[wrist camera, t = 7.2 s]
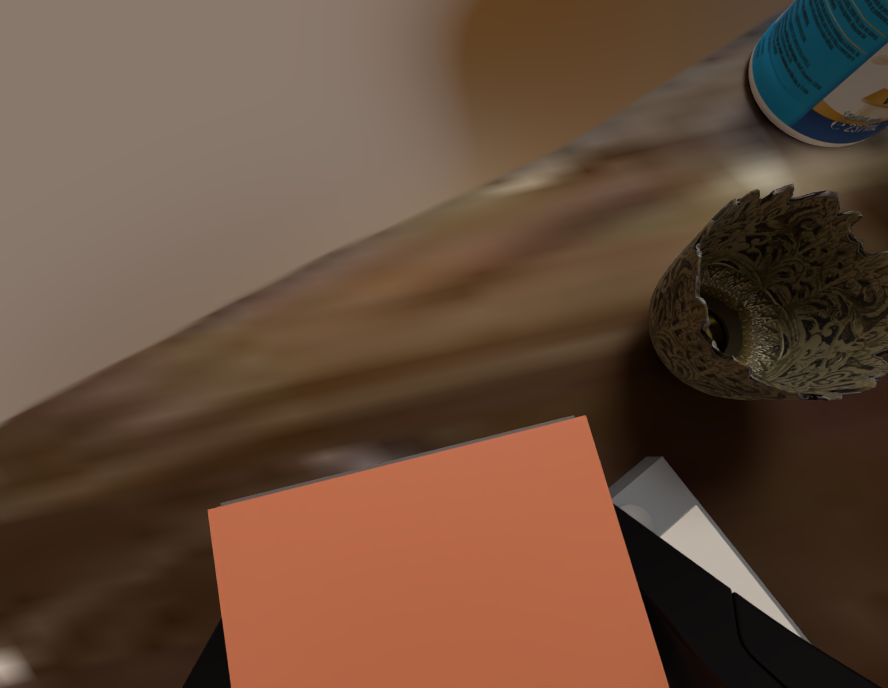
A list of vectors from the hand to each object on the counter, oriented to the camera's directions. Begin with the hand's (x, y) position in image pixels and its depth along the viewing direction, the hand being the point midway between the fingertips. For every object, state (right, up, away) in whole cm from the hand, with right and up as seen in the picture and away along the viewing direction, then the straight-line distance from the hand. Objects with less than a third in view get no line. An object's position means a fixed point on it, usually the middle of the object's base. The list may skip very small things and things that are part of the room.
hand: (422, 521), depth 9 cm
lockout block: (0, -3, +6) cm, 7 cm away
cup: (+12, +3, +15) cm, 19 cm away
